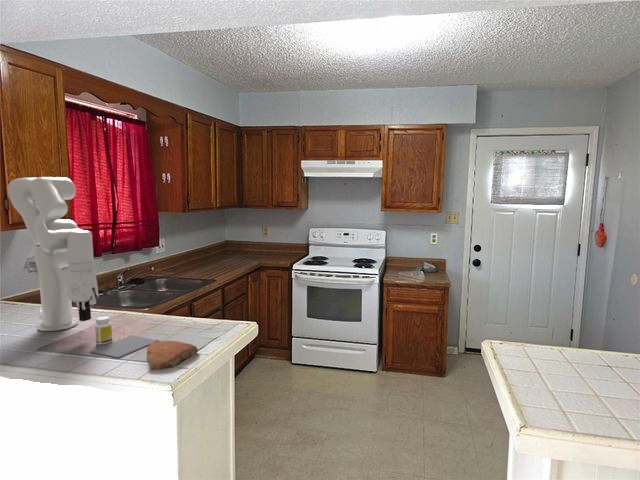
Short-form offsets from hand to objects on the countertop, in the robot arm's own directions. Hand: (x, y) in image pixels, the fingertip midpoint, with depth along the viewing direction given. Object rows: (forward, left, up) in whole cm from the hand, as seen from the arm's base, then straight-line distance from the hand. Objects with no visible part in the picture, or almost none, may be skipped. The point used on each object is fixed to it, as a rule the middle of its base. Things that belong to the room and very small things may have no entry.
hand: (85, 319), depth 142 cm
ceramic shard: (+38, -3, -7) cm, 39 cm away
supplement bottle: (+9, 0, -7) cm, 11 cm away
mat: (+18, 0, -7) cm, 20 cm away
